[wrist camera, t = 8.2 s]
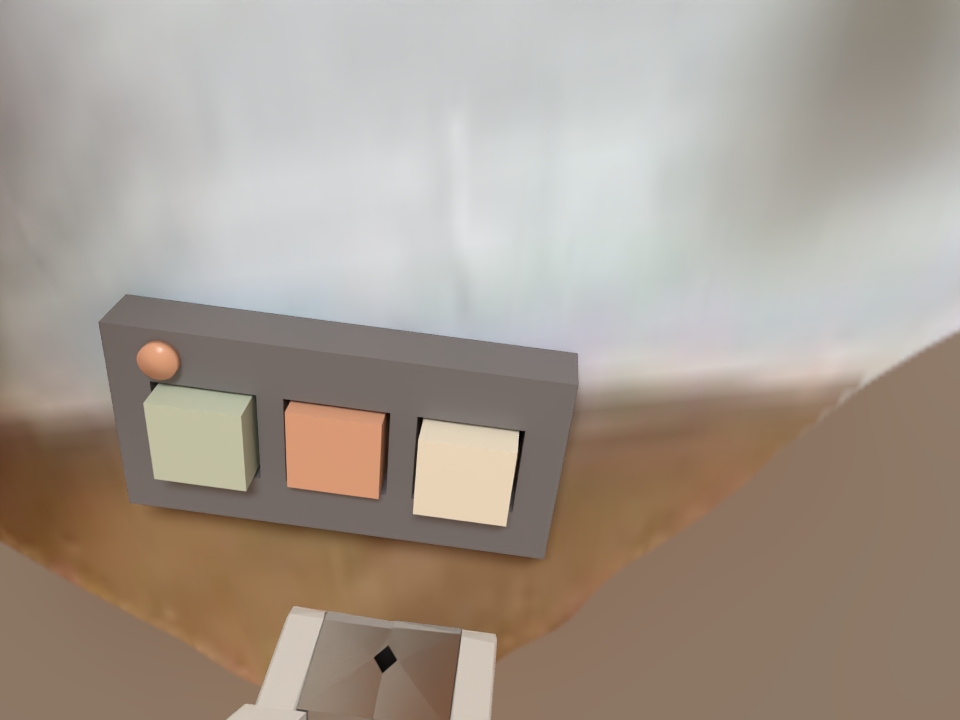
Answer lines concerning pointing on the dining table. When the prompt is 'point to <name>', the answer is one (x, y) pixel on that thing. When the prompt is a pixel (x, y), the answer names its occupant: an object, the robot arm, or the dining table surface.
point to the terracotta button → (336, 449)
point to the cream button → (465, 471)
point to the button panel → (346, 383)
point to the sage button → (203, 436)
